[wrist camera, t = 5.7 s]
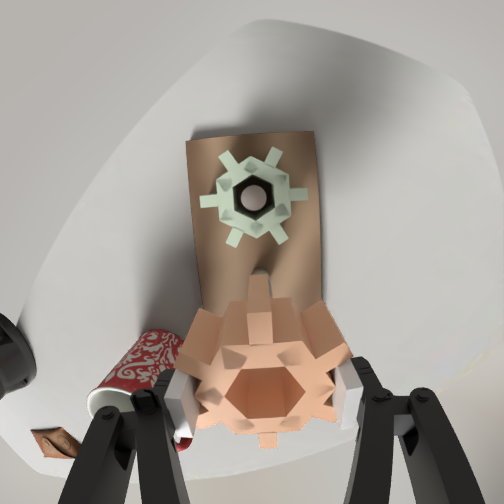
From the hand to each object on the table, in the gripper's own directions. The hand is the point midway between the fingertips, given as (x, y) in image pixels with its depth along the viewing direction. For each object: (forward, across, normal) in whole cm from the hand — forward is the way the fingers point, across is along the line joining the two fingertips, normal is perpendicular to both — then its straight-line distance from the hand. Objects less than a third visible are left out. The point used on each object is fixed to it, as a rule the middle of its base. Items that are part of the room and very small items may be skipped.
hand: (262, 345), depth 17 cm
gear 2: (0, 0, 0) cm, 0 cm away
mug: (+15, -13, -12) cm, 23 cm away
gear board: (+15, 0, +4) cm, 16 cm away
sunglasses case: (+16, -49, -39) cm, 65 cm away
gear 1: (+14, 0, +8) cm, 16 cm away
